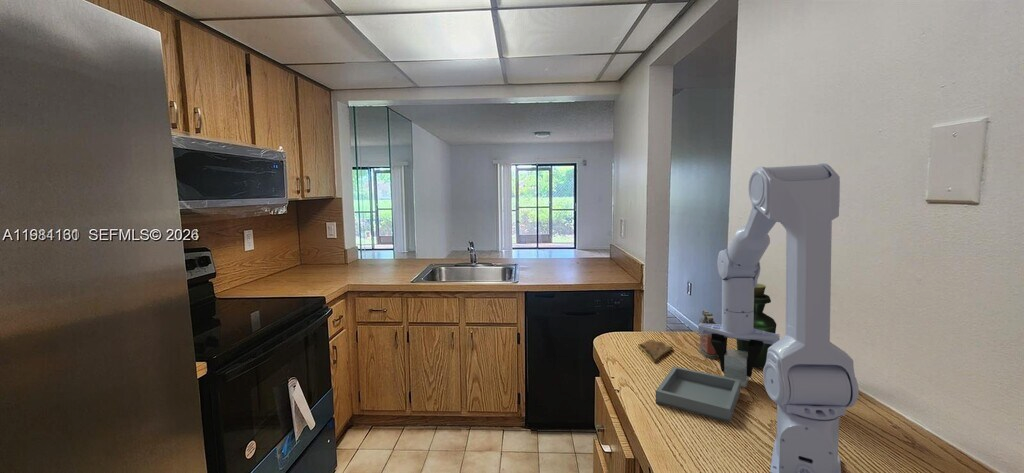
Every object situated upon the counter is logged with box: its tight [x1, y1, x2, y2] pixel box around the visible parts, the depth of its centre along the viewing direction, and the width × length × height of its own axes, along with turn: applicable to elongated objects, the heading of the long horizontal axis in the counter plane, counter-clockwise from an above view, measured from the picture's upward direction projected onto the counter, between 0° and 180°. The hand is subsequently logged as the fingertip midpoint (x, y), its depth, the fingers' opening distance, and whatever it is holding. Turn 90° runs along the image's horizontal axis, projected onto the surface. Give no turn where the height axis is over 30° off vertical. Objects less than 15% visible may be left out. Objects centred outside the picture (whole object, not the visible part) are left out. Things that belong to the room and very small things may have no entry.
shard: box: [637, 339, 674, 364], centre depth 101 cm, size 11×8×2 cm
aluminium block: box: [723, 348, 750, 388], centre depth 84 cm, size 4×4×6 cm
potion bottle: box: [735, 283, 777, 369], centre depth 92 cm, size 8×8×18 cm
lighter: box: [698, 309, 718, 360], centre depth 99 cm, size 8×3×10 cm, turn 168°
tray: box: [655, 366, 741, 424], centre depth 78 cm, size 13×13×2 cm
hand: (736, 372), depth 84 cm, fingers closed on aluminium block, 4 cm apart
